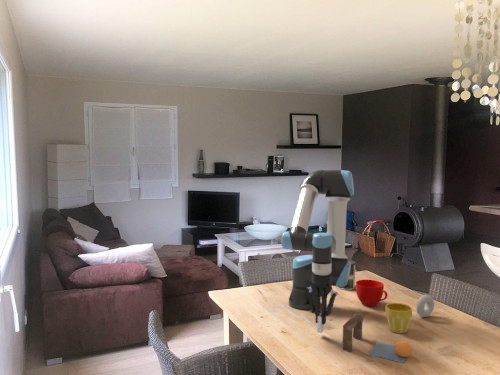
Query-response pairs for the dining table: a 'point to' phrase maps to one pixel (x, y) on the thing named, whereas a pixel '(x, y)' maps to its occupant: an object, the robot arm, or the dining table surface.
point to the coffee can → (350, 278)
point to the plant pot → (398, 316)
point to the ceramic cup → (370, 292)
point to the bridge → (352, 331)
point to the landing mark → (386, 352)
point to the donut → (421, 304)
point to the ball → (402, 349)
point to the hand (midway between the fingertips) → (320, 331)
